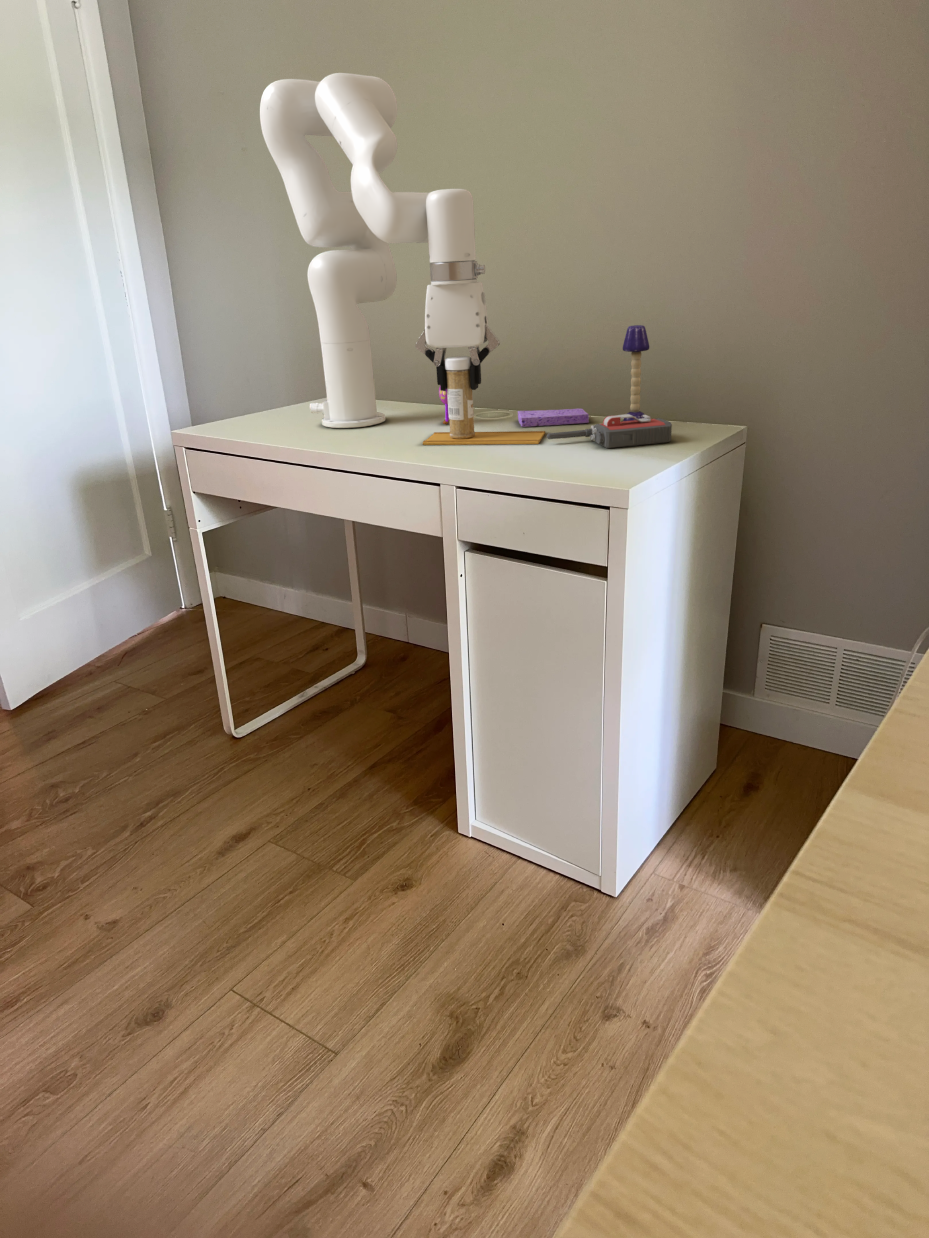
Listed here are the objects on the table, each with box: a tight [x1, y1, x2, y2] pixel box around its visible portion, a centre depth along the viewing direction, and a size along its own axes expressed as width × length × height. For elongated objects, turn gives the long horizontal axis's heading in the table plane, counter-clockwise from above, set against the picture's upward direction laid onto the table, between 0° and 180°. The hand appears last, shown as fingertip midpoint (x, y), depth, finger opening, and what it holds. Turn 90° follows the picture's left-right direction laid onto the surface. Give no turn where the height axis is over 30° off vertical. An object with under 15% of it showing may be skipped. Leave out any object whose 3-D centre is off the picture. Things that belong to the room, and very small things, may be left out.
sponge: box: [517, 408, 590, 428], centre depth 159 cm, size 7×13×2 cm, turn 91°
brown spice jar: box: [445, 355, 476, 439], centre depth 146 cm, size 5×5×14 cm
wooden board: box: [422, 430, 546, 446], centre depth 148 cm, size 20×9×1 cm, turn 77°
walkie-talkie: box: [546, 413, 673, 449], centre depth 139 cm, size 9×4×20 cm
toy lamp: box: [622, 324, 650, 422], centre depth 152 cm, size 5×5×17 cm
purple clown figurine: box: [438, 360, 450, 425], centre depth 161 cm, size 11×3×12 cm, turn 179°
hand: (459, 388), depth 145 cm, fingers closed on brown spice jar, 4 cm apart
